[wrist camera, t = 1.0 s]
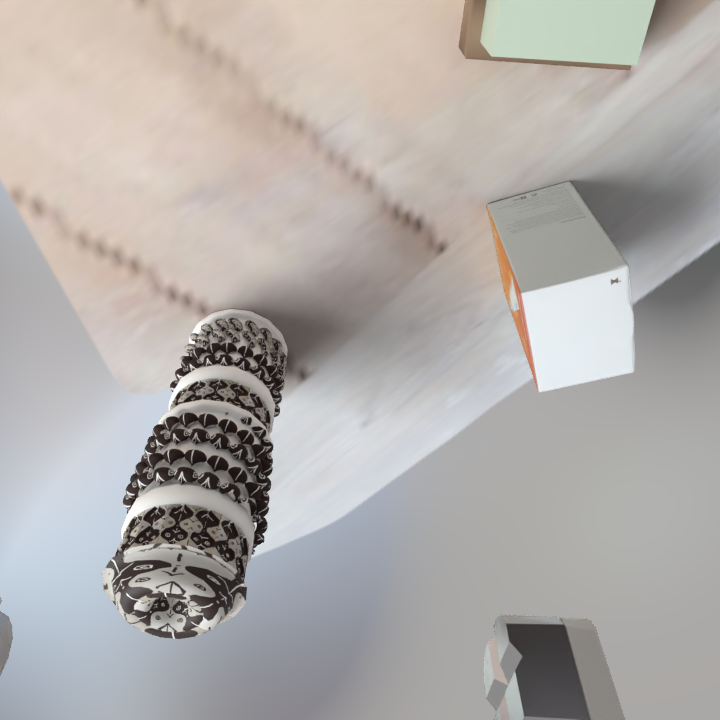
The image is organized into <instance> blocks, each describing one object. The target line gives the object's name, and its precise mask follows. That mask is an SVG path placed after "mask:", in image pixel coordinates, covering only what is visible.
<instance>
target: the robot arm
mask: <svg viewBox="0 0 720 720" xmlns="http://www.w3.org/2000/svg"><path fill="white" fill-rule="evenodd" d="M1 601H2V600H1V598H0V603H1ZM494 632H495V637H494V638H492V639H491V640H489V641H488V643H487V646H486V649H485V653H484V665H483V673H484V685H485V692H486V699H487V700H488V701H489V702H490V704H491V705H492V706H493V707H494V709H495V710H496V711H497V713H496V715H495V717H494V720H625V717H624V714H623V711H622V708H621V705H620V702H619V699H618V696H617V693H616V690H615V686H614V683H613V681H612V677H611V674H610V671H609V668H608V664H607V661H606V658H605V655H604V652H603V649H602V646H601V643H600V640H599V636H598V633H597V630H596V627H595V626H594V624H593V623H592V622H591V621H590V620H588V619H581V618H560V617H547V616H516V615H500V616H498V617H497V619H496V621H495V624H494ZM12 639H13V637H12V625H11V622H10V620H9V617H8V616H7V615H5V614H4V613H2V612H1V611H0V675H1V673H2V671H3V669H4V666H5V664H6V662H7V659H8V657H9V651H10V648H11V643H12Z"/></svg>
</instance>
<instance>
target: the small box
mask: <svg viewBox="0 0 720 720" xmlns="http://www.w3.org/2000/svg"><path fill="white" fill-rule="evenodd" d="M487 211H488V214H489V218H490V222H491V227H492V231H493V236H494V241H495V246H496V251H497V256H498V261H499V266H500V272H501V277H502V282H503V288H504V293H505V296H506V299H507V301H508V304H509V307H510V310H511V313H512V316H513V318H514V321H515V324H516V327H517V330H518V333H519V336H520V339H521V342H522V345H523V348H524V351H525V354H526V357H527V359H528V362H529V365H530V368H531V371H532V374H533V377H534V380H535V383H536V387H537V390H538V392H544V391H549V390H553V389H558V388H562V387H567V386H571V385H576V384H581V383H585V382H590V381H594V380H599V379H603V378H608V377H613V376H617V375H623V374H628V373H633V372H634V371H635V348H634V316H633V306H632V300H631V288H630V276H629V266H628V264H627V262H626V261H625V260H624V258H623V257H622V255H621V254H620V252H619V251H618V249H617V248H616V247H615V245H614V244H613V242H612V241H611V239H610V238H609V236H608V235H607V234H606V232H605V231H604V229H603V228H602V226H601V225H600V224H599V222H598V221H597V220H596V218H595V217H594V215H593V214H592V213H591V211H590V210H589V208H588V207H587V205H586V204H585V202H584V201H583V199H582V198H581V196H580V195H579V193H578V192H577V190H576V189H575V188H574V186H573V185H572V183H571V182H570V181H569V182H564V183H561V184H557V185H554V186H550V187H546V188H543V189H539V190H536V191H532V192H529V193H525V194H522V195H518V196H514V197H511V198H508V199H504V200H501V201H497V202H493V203H490V204H487Z"/></svg>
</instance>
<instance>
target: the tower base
mask: <svg viewBox="0 0 720 720" xmlns="http://www.w3.org/2000/svg"><path fill="white" fill-rule="evenodd" d="M486 1H487V0H465V5H464V12H463V19H462V26H461V33H460V40H459V48H460V50H461V51H462V53H463V55H464V56H465V58H466V59H478V60H492V61H506V62H520V63H534V64H548V65H563V66H577V67H591V68H605V69H619V70H630V68H631V65H620V64H604V63H588V62H572V61H556V60H540V59H524V58H508V57H492V56H491V55H490V54H489V53H488V52H487V50H486V49H485V48H484V46H483V45H482V44H481V42H480V40H481V33H482V27H483V20H484V14H485V7H486Z"/></svg>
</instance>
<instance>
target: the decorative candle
mask: <svg viewBox="0 0 720 720" xmlns="http://www.w3.org/2000/svg"><path fill="white" fill-rule="evenodd" d="M184 349H185V351H186V352H187V353H189V356H182V357H181V358H180V362H181V366H182V368H180V369H178V370H177V371H176V372H175V376H176V378H177V380H175V381H173V382H172V383H171V385H170V388H171V391H172V392H173V394H172V396H171V399H170V402H169V411H168V412H167V413H165V414H164V415H163V416H162V418H161V420H160V421H159V423H158V425H156V426H155V427H154V428H153V436H151V437H149V439H148V444H147V445H146V447H145V454H144V455H143V456H142V459H141V462H140V463H138V464H137V465H136V468H135V472H136V473H135V474H133V475H132V476H131V479H130V481H131V483H130V484H129V485H128V486H127V488H126V495H125V497H124V499H123V504H124V506H125V507H126V508H127V509H128V510H127V517H126V520H125V522H124V525H123V528H122V530H121V533H122V542H121V544H120V546H119V548H118V550H117V552H116V556H115V557H113V558H112V559H111V560H110V562H109V563H108V565H107V567H106V568H105V570H104V571H103V573H102V578H103V586H104V591H105V592H106V594H107V595H108V596H109V598H110V599H111V600H112V601H113V603H114V604H115V605H116V606H117V609H118V610H119V612H120V613H121V614H122V615H123V617H124V618H125V619H126V621H127V622H128V623H130V624H131V625H133V626H135V627H136V628H138V629H139V630H141V631H143V632H145V633H149V634H152V635H155V636H158V637H164V638H176V639H181V638H189V637H196V636H199V635H201V634H203V633H206V632H208V631H210V630H212V629H214V628H215V627H216V626H217V625H218V624H220V623H222V622H224V621H226V620H229V619H231V618H233V617H234V616H235V615H236V614H237V613H238V612H239V611H240V609H241V608H242V607H243V606H244V605H245V602H246V591H247V587H246V585H245V583H244V577H245V572H246V566H247V563H248V562H249V561H250V560H251V555H252V554H253V555H254V551H255V550H253V548H255V547H256V546H257V545H259V544H261V543H262V542H264V536H263V535H262V534H263V533H264V532H265V531H266V530H267V521H266V519H265V518H264V516H265V515H266V514H267V513H268V510H269V507H268V503H269V495H268V493H267V492H268V491H269V490H270V488H271V481H270V479H269V478H268V477H267V476H269V475H270V474H271V472H272V463H273V460H272V457H271V454H272V450H273V443H272V441H271V438H270V436H269V434H270V433H271V432H272V427H273V421H274V417H276V416H278V415H279V413H280V408H279V406H278V405H277V404H278V403H280V402H281V400H282V396H281V394H280V393H279V392H280V391H282V390H283V388H284V384H285V383H284V378H285V376H286V368H285V366H286V363H287V351H288V348H287V346H286V343H285V340H284V338H283V335H282V333H281V332H280V331H279V330H278V329H277V328H276V327H275V326H274V325H273V324H272V323H271V321H270V320H268V319H266V318H264V317H262V316H260V315H258V314H256V313H254V312H252V311H246V310H238V309H227V310H222V311H217V312H213V313H211V314H210V315H208V316H207V317H205V318H204V319H202V320H201V321H199V322H198V323H197V325H196V327H195V329H194V331H193V332H192V334H191V336H190V344H188V345H187V346H185V348H184ZM254 522H257V528H256V530H255V525H254ZM254 531H255V532H254Z"/></svg>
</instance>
